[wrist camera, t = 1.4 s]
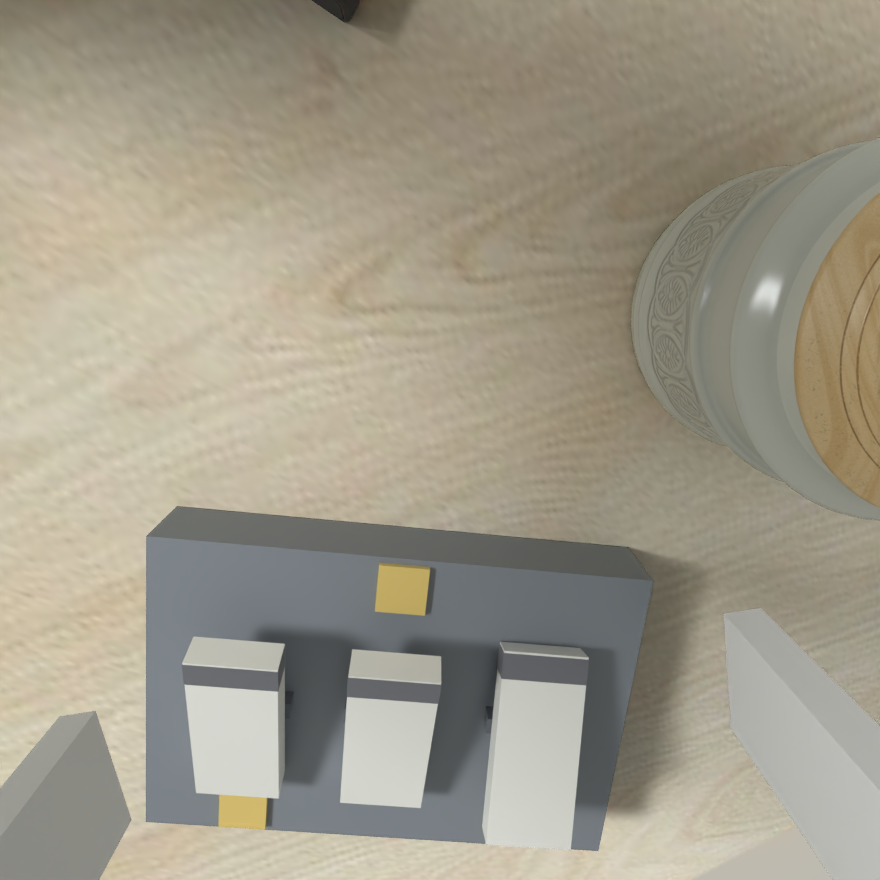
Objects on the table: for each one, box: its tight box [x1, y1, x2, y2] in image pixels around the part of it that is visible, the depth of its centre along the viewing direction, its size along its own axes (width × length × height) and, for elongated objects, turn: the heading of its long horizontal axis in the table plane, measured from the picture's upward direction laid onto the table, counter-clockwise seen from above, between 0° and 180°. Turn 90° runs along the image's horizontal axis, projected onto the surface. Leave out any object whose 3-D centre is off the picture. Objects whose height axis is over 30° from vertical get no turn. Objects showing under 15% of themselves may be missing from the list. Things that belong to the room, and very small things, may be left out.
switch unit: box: [146, 506, 653, 851], centre depth 35 cm, size 24×16×5 cm, turn 84°
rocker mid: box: [340, 649, 441, 808], centre depth 31 cm, size 4×9×2 cm, turn 174°
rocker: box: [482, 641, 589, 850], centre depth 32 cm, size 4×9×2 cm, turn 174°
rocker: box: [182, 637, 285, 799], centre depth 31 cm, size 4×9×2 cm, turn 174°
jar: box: [631, 137, 880, 521], centre depth 25 cm, size 13×13×18 cm
